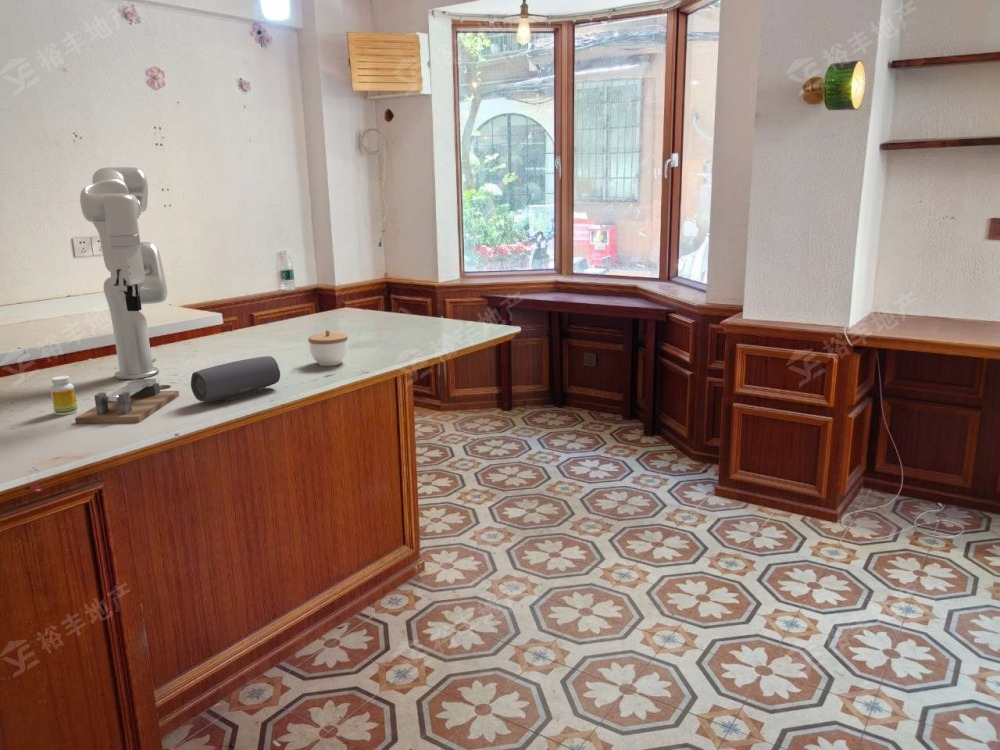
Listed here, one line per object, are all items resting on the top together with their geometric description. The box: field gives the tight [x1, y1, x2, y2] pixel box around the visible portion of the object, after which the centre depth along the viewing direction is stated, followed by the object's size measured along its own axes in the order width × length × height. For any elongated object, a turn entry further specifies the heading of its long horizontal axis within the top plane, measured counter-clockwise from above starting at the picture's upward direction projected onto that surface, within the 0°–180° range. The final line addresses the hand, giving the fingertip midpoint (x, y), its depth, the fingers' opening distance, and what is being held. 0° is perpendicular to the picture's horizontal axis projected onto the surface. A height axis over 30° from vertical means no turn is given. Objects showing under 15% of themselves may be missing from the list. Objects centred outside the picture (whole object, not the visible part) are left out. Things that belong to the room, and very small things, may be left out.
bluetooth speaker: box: [190, 355, 281, 403], centre depth 205 cm, size 23×9×10 cm, turn 141°
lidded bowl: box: [307, 329, 349, 367], centre depth 242 cm, size 13×13×11 cm
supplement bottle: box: [50, 375, 79, 416], centre depth 193 cm, size 5×5×10 cm
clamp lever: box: [103, 378, 157, 403], centre depth 196 cm, size 19×6×2 cm, turn 0°
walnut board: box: [74, 390, 180, 425], centre depth 196 cm, size 24×16×6 cm, turn 0°
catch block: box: [131, 382, 161, 396], centre depth 205 cm, size 3×7×3 cm, turn 91°
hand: (134, 310), depth 200 cm, fingers closed
